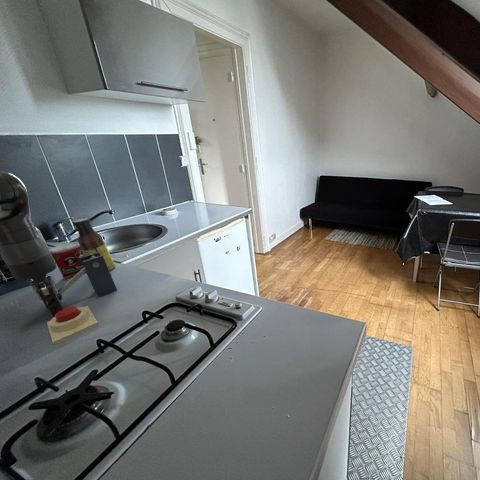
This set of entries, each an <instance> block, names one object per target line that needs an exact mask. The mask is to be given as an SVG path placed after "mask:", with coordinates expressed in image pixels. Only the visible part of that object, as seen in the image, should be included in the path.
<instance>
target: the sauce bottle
mask: <svg viewBox="0 0 480 480" xmlns="http://www.w3.org/2000/svg"><path fill="white" fill-rule="evenodd" d="M72 224H73V226H74V227H75V228H76V231H77V233H78V239H77V242H78V243H79V244H80V246H81V248H82V251H83V253H84V255H85V256H86V255H89V254H93V253H96V252H99V253H100V255H102V256H103V258H104V260H105V262H106V265H107V267H108V269H109V272H111V271H113V270H115V268H116V263H115V261H114V259H113V257H112V255H111V253H110V250H109V249H108V246H107V245H106V242H105V241H104V239H103V236H102V235H101V234H100V233H98V232H97V231H95V229H94V228H93V227H92V224H91V220H90V218H89V217H83V218H78V219H75V220H73V221H72Z"/></svg>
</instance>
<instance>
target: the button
mask: <svg viewBox="0 0 480 480" xmlns="http://www.w3.org/2000/svg"><path fill="white" fill-rule="evenodd" d="M79 314H80V312H79V310H78V307H77V306H73V305H72V306H68V307H65V308H63V310H60V311H59V312H57V313H56V314H55V316H54V317H56V319H57V321H58V322H59V323H62V322H66V321H69V320H71V319H74V318H75V317H77V316H78V315H79Z"/></svg>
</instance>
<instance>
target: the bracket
mask: <svg viewBox="0 0 480 480" xmlns="http://www.w3.org/2000/svg"><path fill="white" fill-rule="evenodd" d="M92 255H94V256H95V257H94V258H91V259H89V258H90V257H91V256H92ZM79 258H80V260H81V262H82V265H83V267H85V269H86V271H87V272H86V276H87V278H88V279H89V282H90V284H91V286H92V288H93V290H94V292H95V293H96V294H97V297H98V298H101V297H104V296H106V295H109V294H112V293H114V292H116V291H118V288H117V286H116V284H115V281H114V279H113V277H112V274H111V271H109V269H108V267H107V265H106V262H105V260H104V258H103V256H102V255H100V253H99V252H96V253H93V254H89V255H86V256H82V257H79Z"/></svg>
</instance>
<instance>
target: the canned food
mask: <svg viewBox="0 0 480 480" xmlns="http://www.w3.org/2000/svg"><path fill="white" fill-rule="evenodd" d="M49 250H50V253H51V255H52V257H53V259H54V261H55V262H56V267H57V269H58V270H59V272H60V274H61V276H62V278H63V279H64V280H65V281H69V280H71V279H72V278H73V277H74V276H75V275H76V274H77V273H78V272H79V271H81V270H82V269H83V268H84V267H83V265H82V262H81V260H80V258H79V257H82V256H85V255H84V253H83V251H82V248H81V246H80V244H79V243H78V241H70V242H66V243H62V244H58V245H55V246H53V247H52V248H49ZM84 275H87V273H85V274H84Z"/></svg>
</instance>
